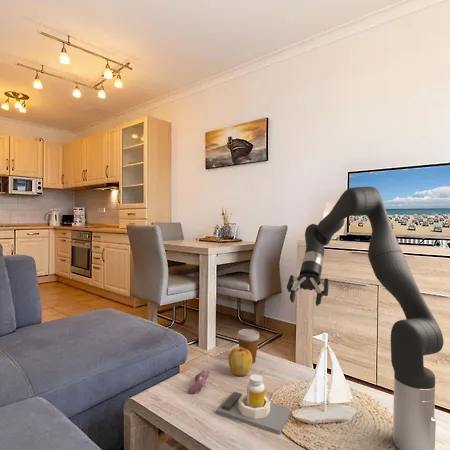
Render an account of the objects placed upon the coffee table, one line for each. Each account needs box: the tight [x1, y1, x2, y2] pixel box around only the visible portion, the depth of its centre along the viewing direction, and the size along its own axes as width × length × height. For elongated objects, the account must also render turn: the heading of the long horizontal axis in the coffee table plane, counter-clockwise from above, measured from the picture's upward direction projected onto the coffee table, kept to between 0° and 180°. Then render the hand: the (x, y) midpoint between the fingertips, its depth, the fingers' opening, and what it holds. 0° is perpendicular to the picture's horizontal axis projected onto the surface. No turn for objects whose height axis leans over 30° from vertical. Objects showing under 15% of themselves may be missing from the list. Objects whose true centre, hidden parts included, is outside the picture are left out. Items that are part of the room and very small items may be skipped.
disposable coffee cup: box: [236, 328, 261, 365], centre depth 134 cm, size 10×10×12 cm
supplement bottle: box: [246, 373, 266, 408], centre depth 97 cm, size 5×5×10 cm
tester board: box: [215, 391, 291, 435], centre depth 97 cm, size 20×12×4 cm, turn 63°
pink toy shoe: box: [187, 368, 211, 395], centre depth 111 cm, size 10×5×7 cm, turn 170°
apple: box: [227, 346, 253, 377], centre depth 122 cm, size 9×9×10 cm
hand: (304, 302), depth 111 cm, fingers open, 8 cm apart
